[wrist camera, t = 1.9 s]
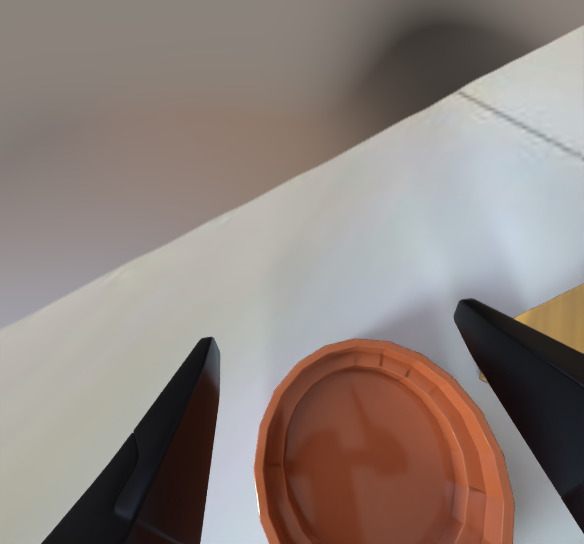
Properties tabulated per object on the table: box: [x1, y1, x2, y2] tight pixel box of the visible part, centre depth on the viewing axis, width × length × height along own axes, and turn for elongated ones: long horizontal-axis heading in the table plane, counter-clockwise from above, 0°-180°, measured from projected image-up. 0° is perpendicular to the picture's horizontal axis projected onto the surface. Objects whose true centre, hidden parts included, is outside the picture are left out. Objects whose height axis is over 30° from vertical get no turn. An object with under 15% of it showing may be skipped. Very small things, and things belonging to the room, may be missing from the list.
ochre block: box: [479, 283, 584, 383], centre depth 18 cm, size 4×4×10 cm
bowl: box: [254, 339, 514, 544], centre depth 18 cm, size 15×15×4 cm
